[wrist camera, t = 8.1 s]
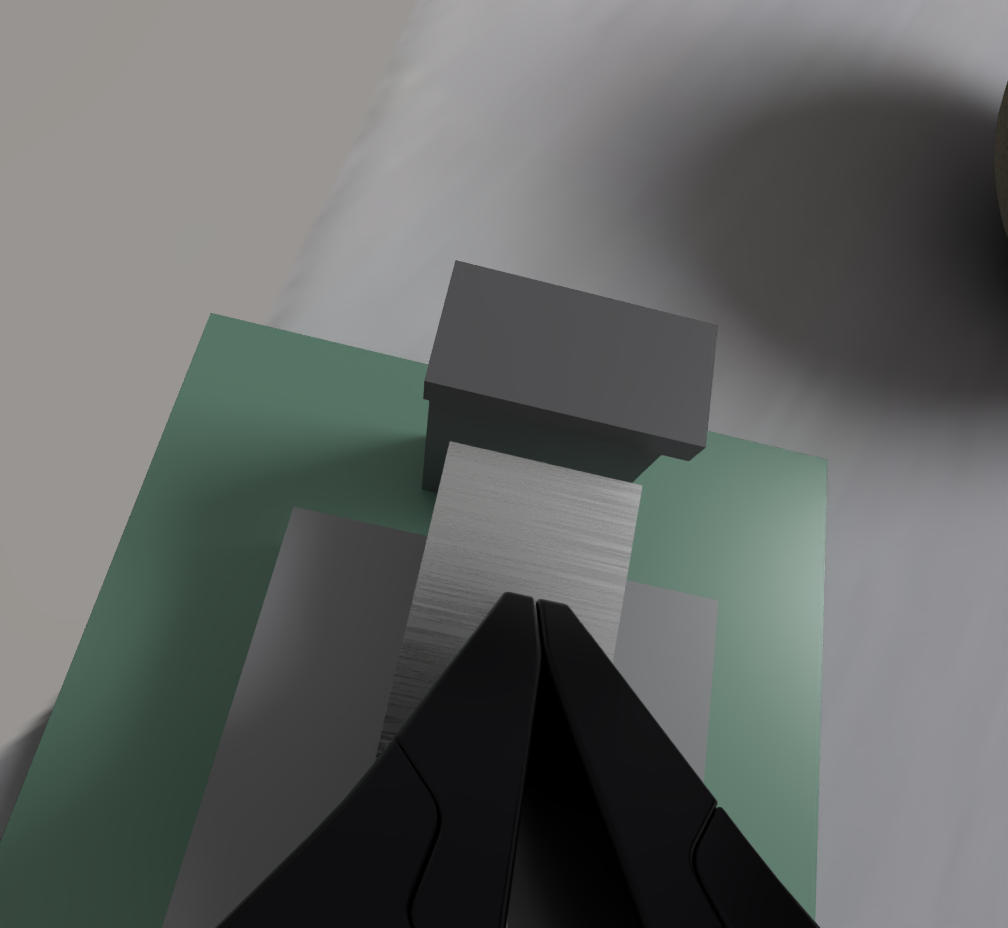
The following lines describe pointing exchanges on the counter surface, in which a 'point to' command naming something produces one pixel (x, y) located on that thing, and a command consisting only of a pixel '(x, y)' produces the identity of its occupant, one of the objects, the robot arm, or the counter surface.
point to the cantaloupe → (1002, 160)
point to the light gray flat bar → (511, 558)
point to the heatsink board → (368, 476)
